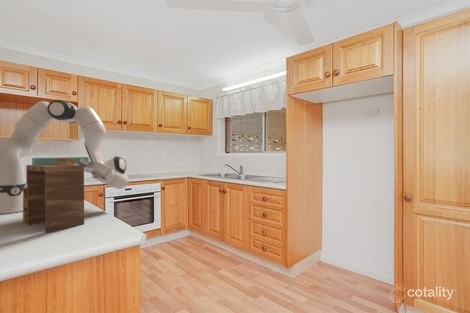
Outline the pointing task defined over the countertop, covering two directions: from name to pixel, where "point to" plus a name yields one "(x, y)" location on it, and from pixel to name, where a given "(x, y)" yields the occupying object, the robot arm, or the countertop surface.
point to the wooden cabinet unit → (55, 194)
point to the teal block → (54, 160)
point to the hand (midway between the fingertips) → (76, 159)
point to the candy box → (24, 205)
